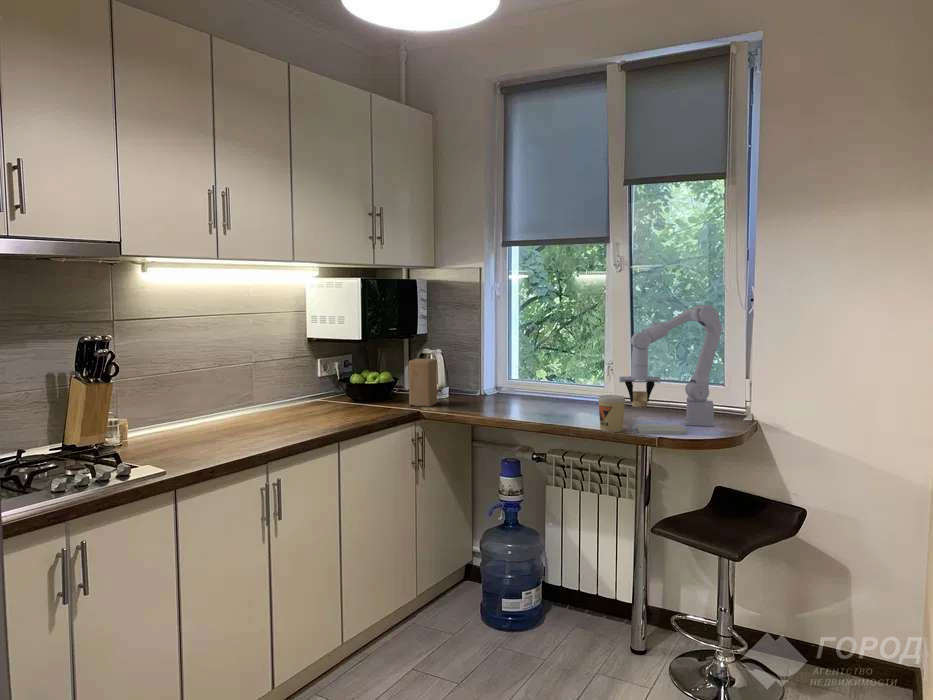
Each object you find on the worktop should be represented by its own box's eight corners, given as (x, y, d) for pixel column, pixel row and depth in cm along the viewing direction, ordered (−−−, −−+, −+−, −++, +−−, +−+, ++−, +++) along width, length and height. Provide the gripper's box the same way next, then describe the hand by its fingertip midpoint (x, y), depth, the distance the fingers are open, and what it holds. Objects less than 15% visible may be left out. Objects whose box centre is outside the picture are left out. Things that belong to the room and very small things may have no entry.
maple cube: (645, 404, 268) (645, 391, 268) (647, 406, 263) (647, 393, 263) (631, 404, 269) (631, 391, 269) (633, 406, 264) (633, 393, 264)
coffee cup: (593, 428, 259) (593, 395, 258) (615, 426, 262) (615, 394, 261) (607, 433, 250) (607, 399, 249) (630, 431, 254) (630, 397, 253)
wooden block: (408, 406, 311) (407, 360, 309) (416, 402, 320) (416, 358, 319) (430, 407, 308) (429, 360, 306) (437, 403, 317) (437, 358, 316)
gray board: (680, 427, 259) (680, 424, 259) (686, 434, 247) (686, 431, 247) (635, 427, 261) (635, 423, 261) (639, 433, 249) (639, 430, 249)
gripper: (620, 366, 262) (620, 403, 263) (661, 366, 260) (661, 403, 261) (619, 364, 269) (618, 400, 270) (658, 364, 267) (658, 400, 268)
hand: (639, 401), depth 266 cm, fingers closed on maple cube, 5 cm apart
